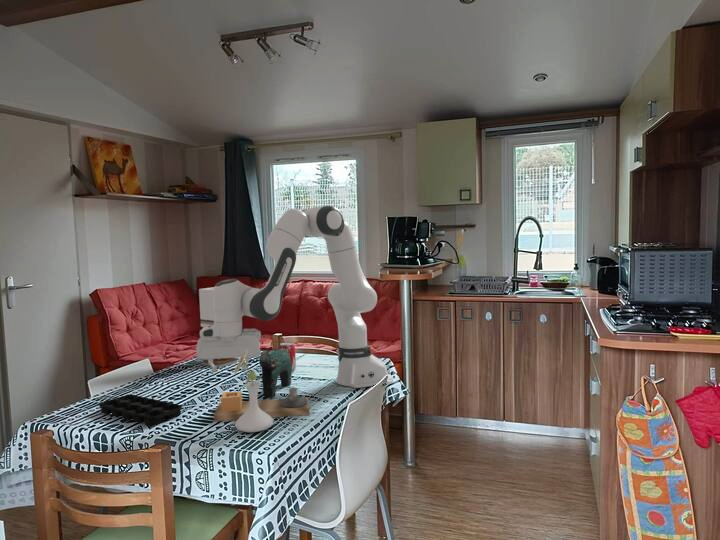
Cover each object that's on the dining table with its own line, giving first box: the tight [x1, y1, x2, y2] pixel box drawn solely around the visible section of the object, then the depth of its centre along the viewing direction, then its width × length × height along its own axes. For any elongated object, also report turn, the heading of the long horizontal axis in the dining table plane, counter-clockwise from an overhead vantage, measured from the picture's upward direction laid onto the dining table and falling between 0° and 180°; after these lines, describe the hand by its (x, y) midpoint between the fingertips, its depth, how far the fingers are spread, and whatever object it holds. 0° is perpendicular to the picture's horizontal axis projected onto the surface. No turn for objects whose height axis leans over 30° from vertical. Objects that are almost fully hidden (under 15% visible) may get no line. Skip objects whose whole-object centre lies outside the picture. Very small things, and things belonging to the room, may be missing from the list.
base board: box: [213, 387, 310, 422], centre depth 170 cm, size 30×12×7 cm, turn 98°
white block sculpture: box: [198, 286, 238, 369], centre depth 236 cm, size 11×11×35 cm
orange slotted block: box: [220, 390, 243, 412], centre depth 168 cm, size 6×6×4 cm
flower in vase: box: [233, 350, 275, 433], centre depth 153 cm, size 13×11×25 cm
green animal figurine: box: [259, 339, 293, 399], centre depth 191 cm, size 20×6×20 cm, turn 163°
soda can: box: [279, 341, 297, 373], centre depth 220 cm, size 7×7×12 cm
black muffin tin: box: [98, 394, 183, 427], centre depth 171 cm, size 18×30×4 cm, turn 71°
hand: (229, 371), depth 167 cm, fingers open, 8 cm apart
